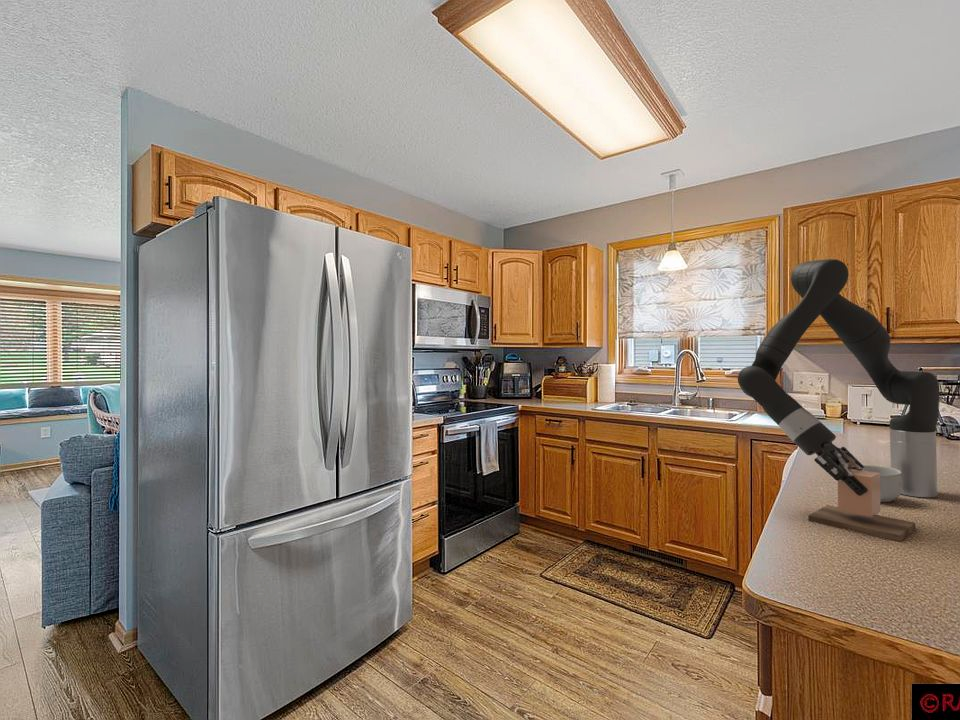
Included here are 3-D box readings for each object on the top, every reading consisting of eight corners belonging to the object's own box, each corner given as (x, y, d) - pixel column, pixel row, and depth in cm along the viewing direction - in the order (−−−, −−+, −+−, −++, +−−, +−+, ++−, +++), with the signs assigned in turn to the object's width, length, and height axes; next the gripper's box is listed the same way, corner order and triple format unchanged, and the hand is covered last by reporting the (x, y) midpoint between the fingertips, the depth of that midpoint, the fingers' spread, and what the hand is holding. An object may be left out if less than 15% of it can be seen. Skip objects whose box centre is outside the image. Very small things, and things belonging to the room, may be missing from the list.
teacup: (913, 506, 116) (912, 474, 116) (863, 504, 118) (862, 472, 118) (877, 490, 129) (876, 462, 129) (833, 489, 131) (832, 461, 131)
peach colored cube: (847, 504, 108) (846, 468, 108) (880, 511, 103) (879, 473, 103) (838, 509, 104) (837, 472, 104) (871, 516, 100) (871, 477, 100)
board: (827, 510, 114) (827, 505, 114) (915, 528, 101) (915, 522, 101) (808, 520, 107) (808, 515, 107) (899, 541, 94) (899, 535, 94)
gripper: (806, 423, 106) (873, 486, 96) (830, 418, 114) (894, 476, 104) (781, 443, 110) (843, 506, 100) (805, 437, 118) (864, 494, 109)
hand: (868, 490), depth 102 cm, fingers closed on peach colored cube, 6 cm apart
